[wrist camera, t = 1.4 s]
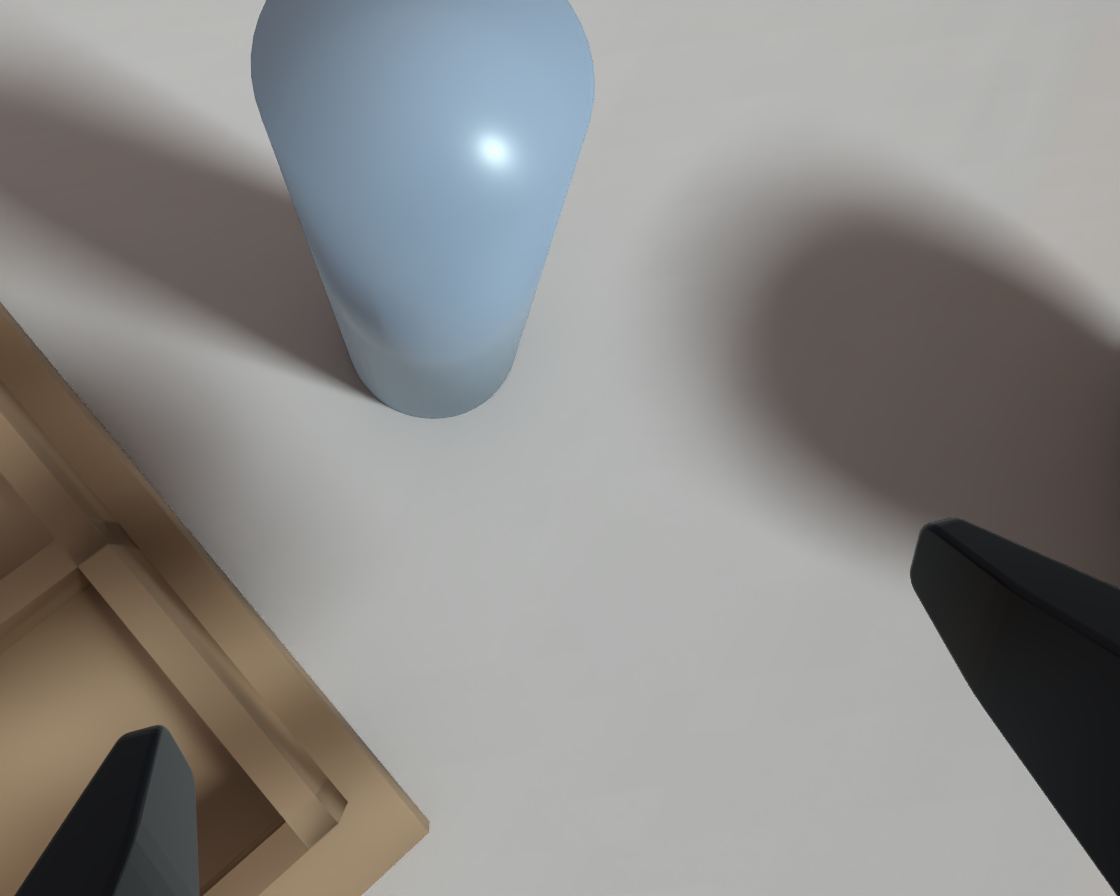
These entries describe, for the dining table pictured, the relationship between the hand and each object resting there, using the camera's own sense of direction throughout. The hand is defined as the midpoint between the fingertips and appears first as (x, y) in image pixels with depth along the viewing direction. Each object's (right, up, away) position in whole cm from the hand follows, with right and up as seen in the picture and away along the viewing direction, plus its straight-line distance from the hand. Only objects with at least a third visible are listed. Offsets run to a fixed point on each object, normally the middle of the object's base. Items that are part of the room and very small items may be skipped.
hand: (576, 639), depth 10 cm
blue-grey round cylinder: (-4, +5, +14) cm, 16 cm away
